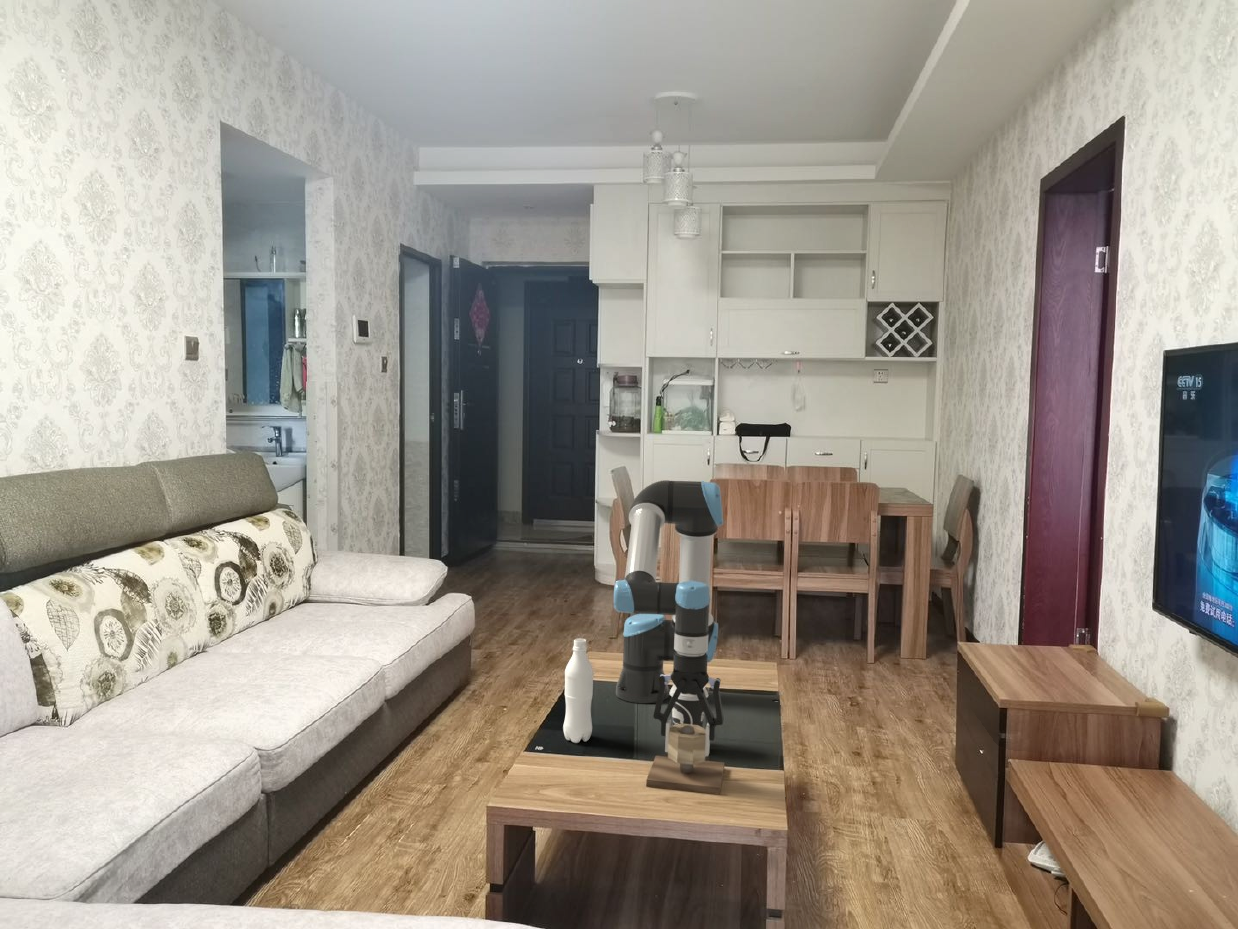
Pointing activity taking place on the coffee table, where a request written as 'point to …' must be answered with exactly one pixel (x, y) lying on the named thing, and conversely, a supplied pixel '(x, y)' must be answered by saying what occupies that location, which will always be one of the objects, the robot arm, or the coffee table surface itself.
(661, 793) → the coffee table surface
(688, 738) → the collar
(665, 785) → the post base
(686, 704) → the coffee cup
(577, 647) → the water bottle
